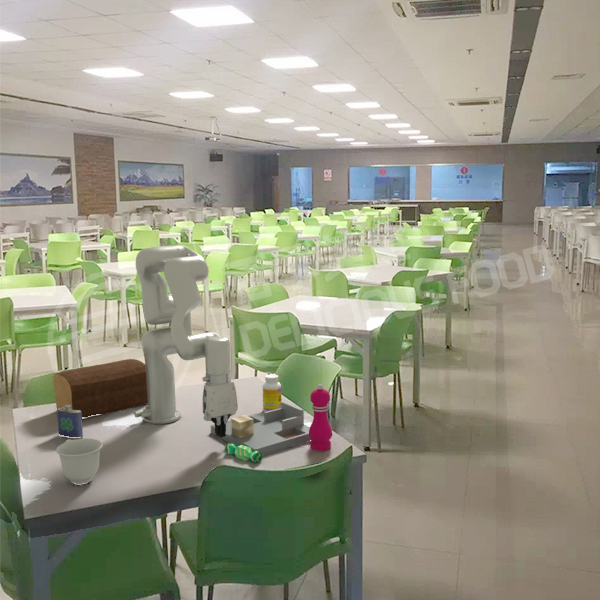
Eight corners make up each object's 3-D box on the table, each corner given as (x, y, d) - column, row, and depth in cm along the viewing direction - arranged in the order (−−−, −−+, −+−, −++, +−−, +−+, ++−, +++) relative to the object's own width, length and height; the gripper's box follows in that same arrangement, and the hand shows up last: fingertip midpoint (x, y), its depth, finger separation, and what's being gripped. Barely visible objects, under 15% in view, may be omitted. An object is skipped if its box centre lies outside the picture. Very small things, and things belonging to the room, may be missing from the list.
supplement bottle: (281, 414, 235) (280, 378, 233) (262, 414, 236) (261, 378, 233) (282, 407, 242) (281, 373, 240) (263, 407, 242) (263, 373, 240)
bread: (54, 410, 243) (51, 367, 240) (130, 393, 261) (128, 353, 259) (73, 423, 229) (70, 378, 226) (152, 404, 248) (150, 362, 245)
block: (240, 438, 206) (239, 422, 206) (231, 433, 210) (231, 418, 210) (253, 434, 209) (253, 419, 209) (245, 429, 213) (244, 414, 213)
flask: (84, 437, 216) (82, 405, 214) (78, 440, 213) (76, 408, 211) (62, 433, 219) (59, 402, 218) (55, 436, 217) (53, 404, 215)
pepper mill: (335, 444, 207) (335, 381, 204) (328, 453, 201) (328, 388, 197) (313, 441, 210) (312, 379, 206) (305, 450, 203) (304, 386, 200)
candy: (223, 452, 200) (228, 439, 201) (230, 456, 202) (235, 443, 203) (252, 463, 192) (257, 449, 193) (259, 466, 195) (264, 452, 196)
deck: (255, 457, 198) (254, 433, 197) (210, 432, 218) (210, 410, 217) (318, 438, 212) (318, 415, 211) (271, 416, 233) (270, 396, 231)
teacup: (89, 465, 194) (87, 432, 192) (112, 481, 183) (110, 446, 181) (47, 477, 186) (44, 443, 184) (69, 495, 175) (66, 459, 173)
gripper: (202, 385, 194) (205, 445, 198) (246, 376, 203) (247, 433, 206) (190, 379, 200) (193, 438, 203) (233, 370, 209) (234, 427, 212)
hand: (220, 435), depth 205 cm, fingers closed
